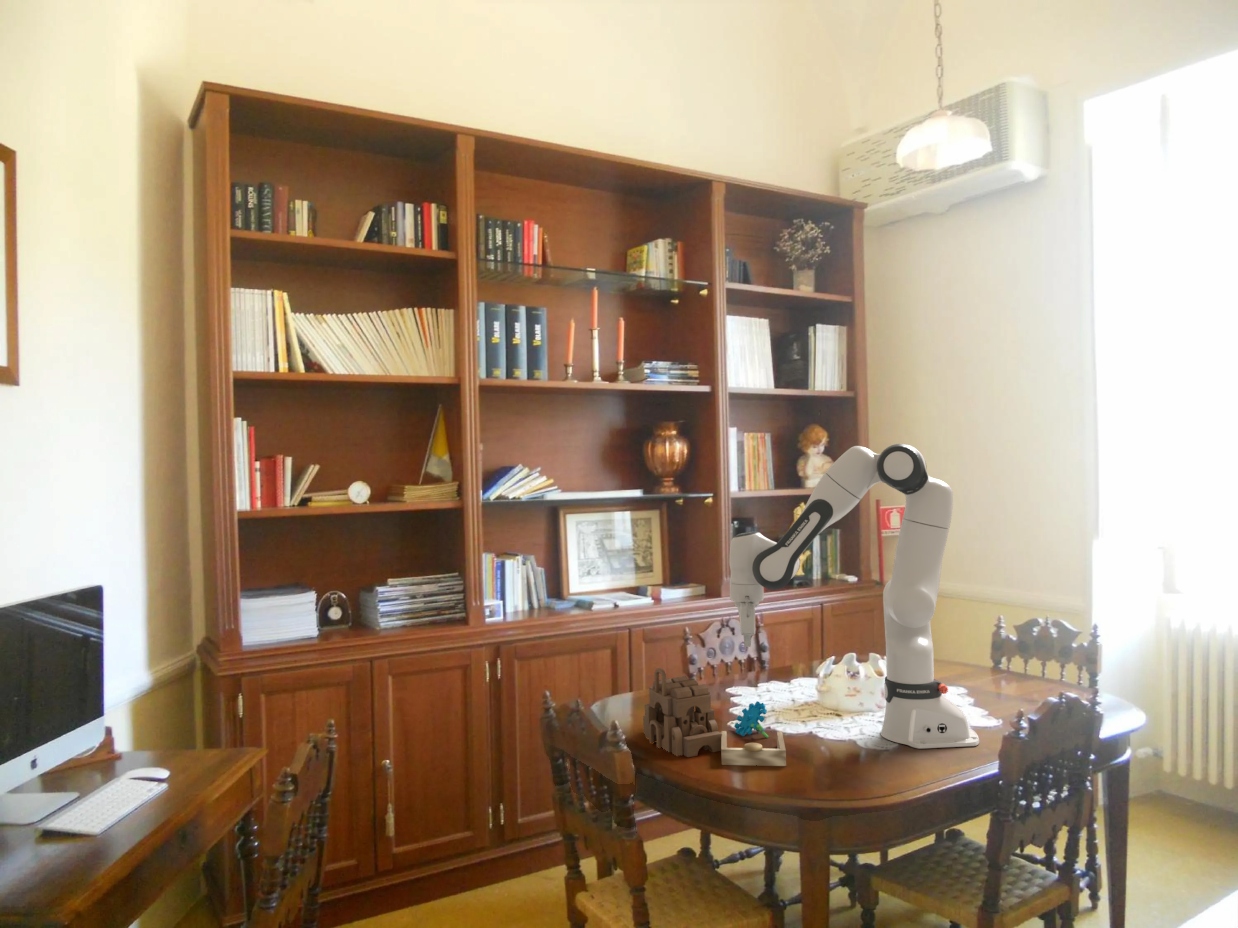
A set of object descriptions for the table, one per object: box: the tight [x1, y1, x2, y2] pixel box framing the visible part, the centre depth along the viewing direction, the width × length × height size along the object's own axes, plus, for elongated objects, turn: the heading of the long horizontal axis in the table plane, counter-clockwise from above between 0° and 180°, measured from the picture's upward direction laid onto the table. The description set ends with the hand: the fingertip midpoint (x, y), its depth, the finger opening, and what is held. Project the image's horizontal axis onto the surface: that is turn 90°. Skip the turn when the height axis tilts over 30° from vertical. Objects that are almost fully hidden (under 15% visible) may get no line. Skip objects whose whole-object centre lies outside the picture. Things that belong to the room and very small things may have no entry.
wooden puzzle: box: [642, 667, 722, 758], centre depth 214 cm, size 22×15×19 cm, turn 26°
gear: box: [733, 700, 769, 739], centre depth 219 cm, size 11×6×10 cm
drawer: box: [720, 730, 787, 767], centre depth 202 cm, size 14×15×4 cm
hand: (747, 645), depth 229 cm, fingers closed
